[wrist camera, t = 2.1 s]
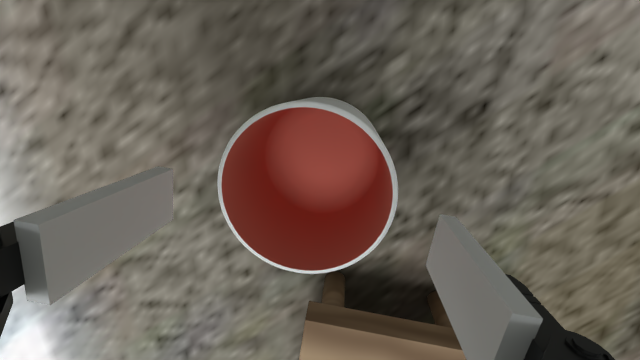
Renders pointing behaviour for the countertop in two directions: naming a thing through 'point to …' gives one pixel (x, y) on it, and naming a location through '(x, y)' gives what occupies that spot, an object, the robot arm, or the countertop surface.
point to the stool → (373, 331)
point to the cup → (308, 185)
